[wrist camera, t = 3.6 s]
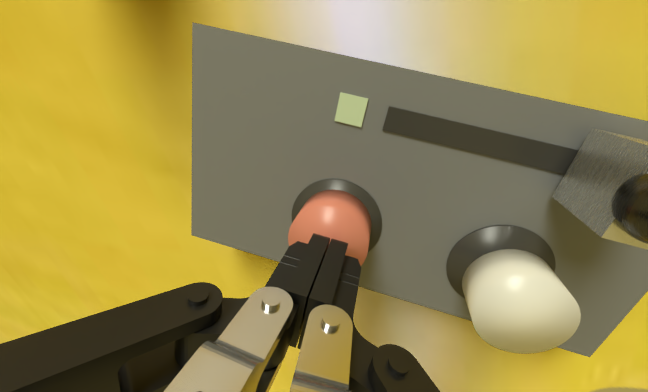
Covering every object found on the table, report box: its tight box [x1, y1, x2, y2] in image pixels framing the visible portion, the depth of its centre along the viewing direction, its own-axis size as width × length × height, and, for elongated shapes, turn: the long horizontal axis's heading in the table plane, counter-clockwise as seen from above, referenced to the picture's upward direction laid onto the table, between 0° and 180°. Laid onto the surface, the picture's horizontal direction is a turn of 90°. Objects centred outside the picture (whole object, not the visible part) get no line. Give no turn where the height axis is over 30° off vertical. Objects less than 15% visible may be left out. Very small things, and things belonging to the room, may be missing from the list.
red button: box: [288, 190, 371, 266], centre depth 14 cm, size 4×4×2 cm
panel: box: [192, 23, 648, 357], centre depth 16 cm, size 22×11×4 cm, turn 78°
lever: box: [552, 128, 648, 250], centre depth 9 cm, size 2×3×4 cm
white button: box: [462, 249, 581, 354], centre depth 12 cm, size 4×4×2 cm
